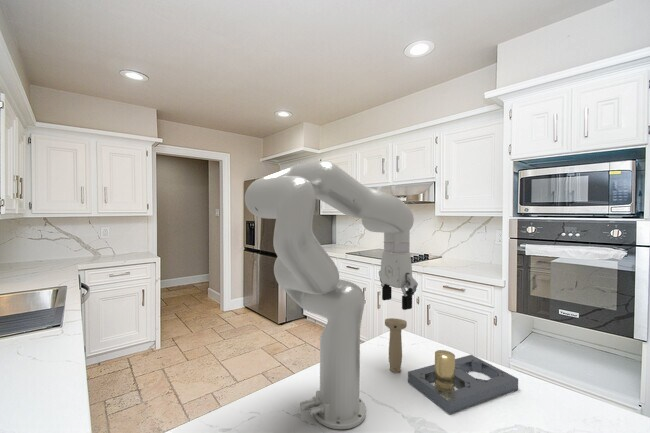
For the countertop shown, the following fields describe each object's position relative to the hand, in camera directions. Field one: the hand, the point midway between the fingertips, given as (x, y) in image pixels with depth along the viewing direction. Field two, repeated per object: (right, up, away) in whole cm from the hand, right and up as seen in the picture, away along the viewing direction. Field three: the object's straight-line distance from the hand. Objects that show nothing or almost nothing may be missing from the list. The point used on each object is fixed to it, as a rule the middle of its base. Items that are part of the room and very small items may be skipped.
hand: (396, 304), depth 92 cm
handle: (0, -20, 0) cm, 20 cm away
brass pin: (+10, -20, -10) cm, 25 cm away
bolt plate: (+16, -20, -8) cm, 27 cm away
